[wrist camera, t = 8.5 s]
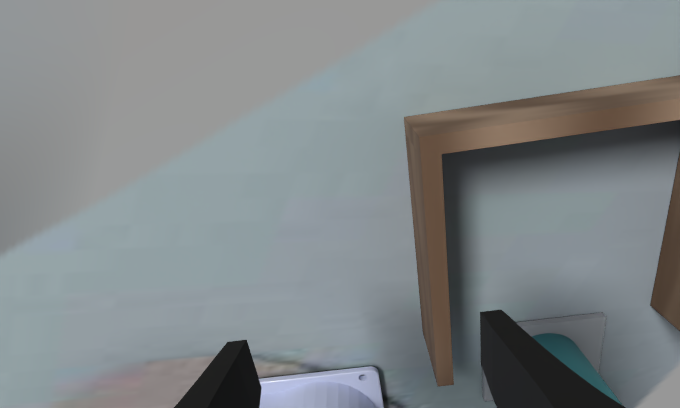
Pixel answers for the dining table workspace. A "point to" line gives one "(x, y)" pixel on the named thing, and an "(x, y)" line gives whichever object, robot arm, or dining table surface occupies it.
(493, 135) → the open u-shaped frame
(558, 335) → the capsule
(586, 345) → the mat
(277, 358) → the dining table surface
